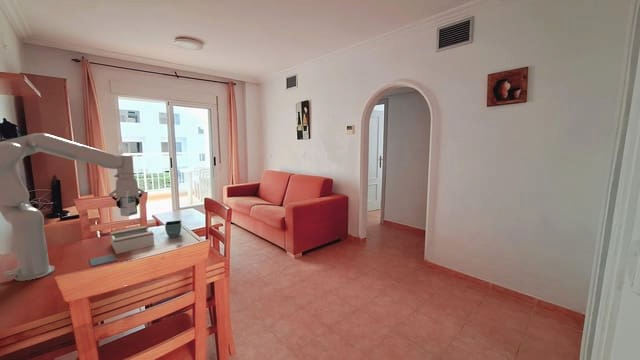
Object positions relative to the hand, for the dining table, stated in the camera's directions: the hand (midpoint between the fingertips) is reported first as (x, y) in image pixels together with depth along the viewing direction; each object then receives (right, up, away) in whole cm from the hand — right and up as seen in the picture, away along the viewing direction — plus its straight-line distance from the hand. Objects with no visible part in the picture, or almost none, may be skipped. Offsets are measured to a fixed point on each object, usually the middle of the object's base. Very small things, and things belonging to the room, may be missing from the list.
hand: (128, 206), depth 153 cm
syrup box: (0, -5, +1) cm, 5 cm away
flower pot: (+16, -21, +18) cm, 32 cm away
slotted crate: (0, -23, +4) cm, 23 cm away
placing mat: (-1, -26, -16) cm, 31 cm away
